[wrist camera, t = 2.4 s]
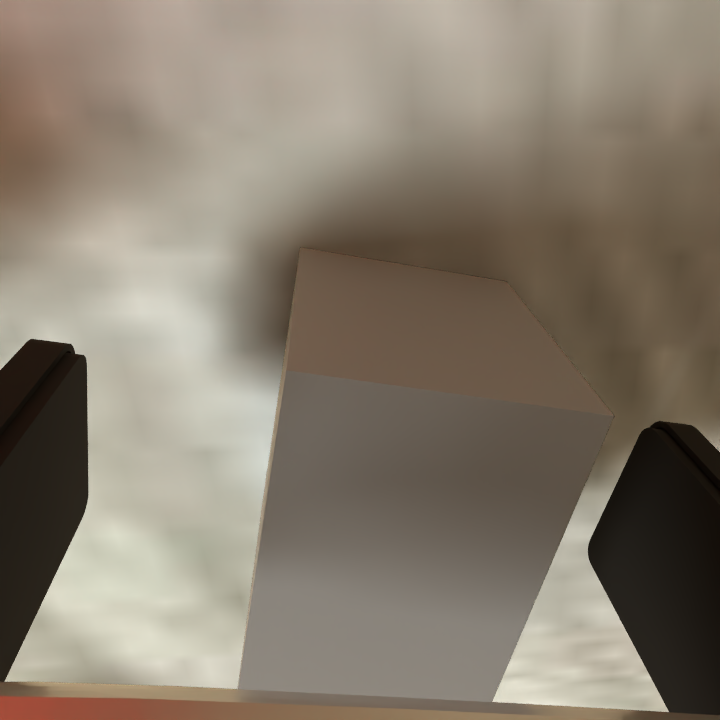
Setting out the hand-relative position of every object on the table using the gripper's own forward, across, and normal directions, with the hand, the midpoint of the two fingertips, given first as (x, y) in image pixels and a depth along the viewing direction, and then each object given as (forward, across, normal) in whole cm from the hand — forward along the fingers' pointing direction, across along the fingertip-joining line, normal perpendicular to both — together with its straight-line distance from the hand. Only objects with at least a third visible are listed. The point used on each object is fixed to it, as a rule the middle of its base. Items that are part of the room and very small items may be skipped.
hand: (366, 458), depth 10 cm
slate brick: (+3, 0, 0) cm, 3 cm away
